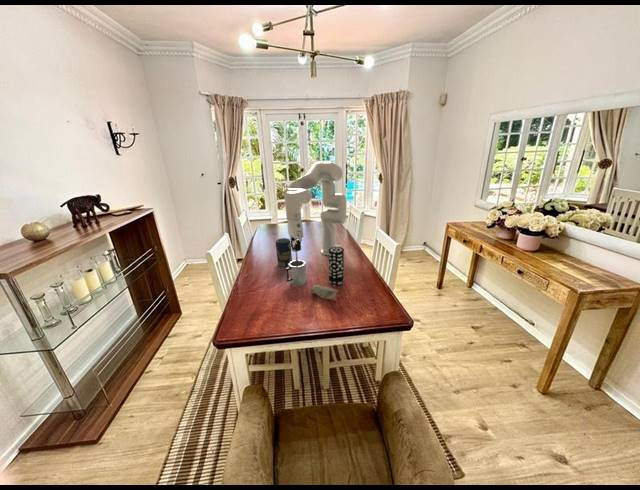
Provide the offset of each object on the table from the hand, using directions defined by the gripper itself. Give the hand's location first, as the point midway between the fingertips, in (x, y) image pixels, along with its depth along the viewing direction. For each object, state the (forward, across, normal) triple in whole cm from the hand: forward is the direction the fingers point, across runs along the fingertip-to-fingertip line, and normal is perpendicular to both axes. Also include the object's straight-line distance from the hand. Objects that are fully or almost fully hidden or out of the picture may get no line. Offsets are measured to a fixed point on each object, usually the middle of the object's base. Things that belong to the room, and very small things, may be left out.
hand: (296, 248), depth 135 cm
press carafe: (+21, 0, +1) cm, 21 cm away
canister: (+21, +26, -3) cm, 34 cm away
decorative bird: (+21, -22, -4) cm, 31 cm away
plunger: (+12, 0, 0) cm, 12 cm away
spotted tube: (+21, -12, -18) cm, 30 cm away
